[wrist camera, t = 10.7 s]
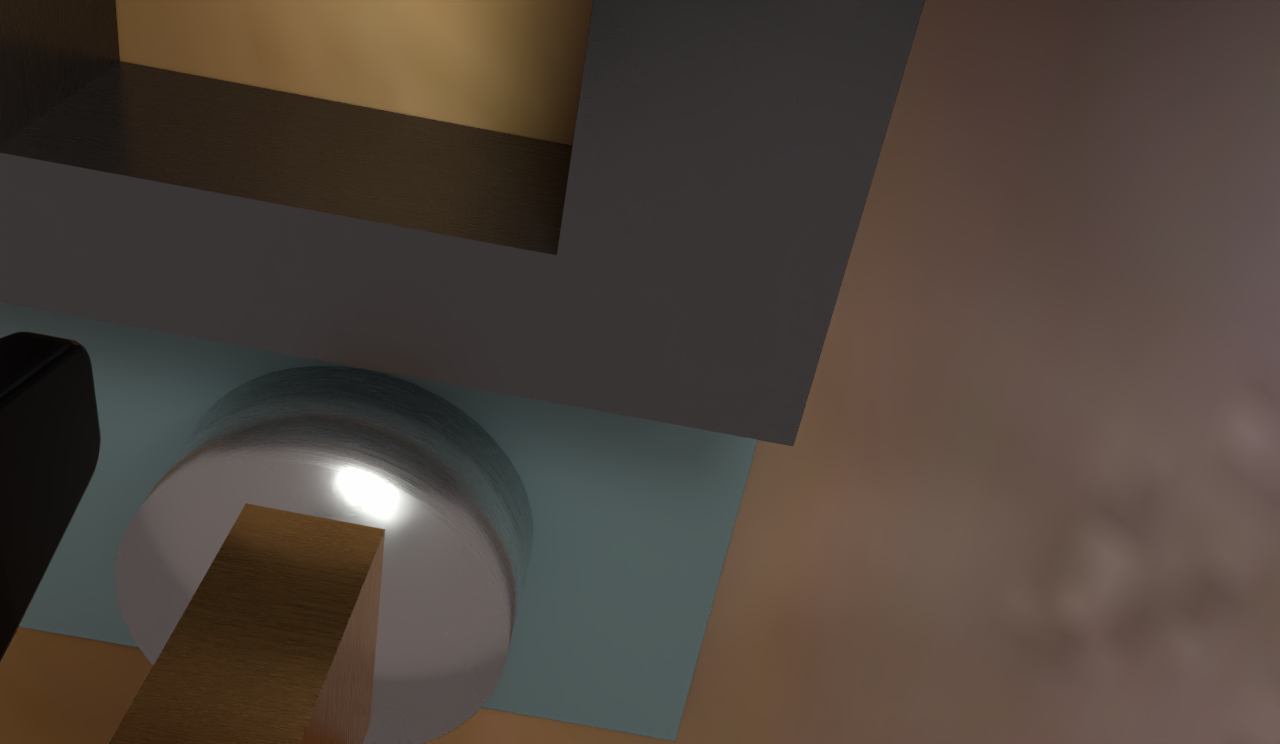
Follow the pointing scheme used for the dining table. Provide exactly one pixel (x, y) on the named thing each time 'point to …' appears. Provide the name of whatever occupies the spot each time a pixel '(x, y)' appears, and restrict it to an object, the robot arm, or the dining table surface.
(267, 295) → the housing
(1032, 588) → the dining table surface
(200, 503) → the grey round brown-barred piece
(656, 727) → the mat
